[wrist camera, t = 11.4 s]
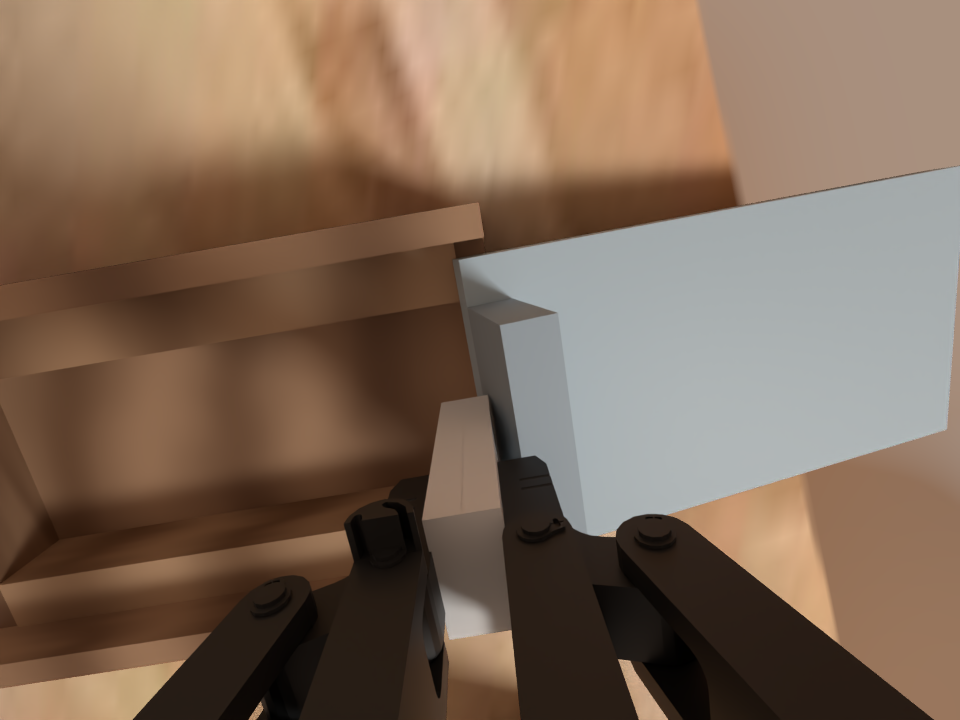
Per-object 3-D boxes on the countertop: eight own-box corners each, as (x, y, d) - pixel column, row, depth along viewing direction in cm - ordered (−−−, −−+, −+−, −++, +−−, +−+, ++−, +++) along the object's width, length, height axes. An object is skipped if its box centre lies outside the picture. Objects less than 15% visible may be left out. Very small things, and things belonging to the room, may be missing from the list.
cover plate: (931, 169, 20) (1118, 142, 15) (917, 420, 23) (1071, 467, 18) (452, 259, 16) (489, 262, 12) (504, 543, 19) (552, 644, 14)
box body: (476, 210, 20) (478, 202, 14) (525, 512, 24) (543, 604, 18) (-44, 301, 21) (-247, 327, 15) (79, 583, 24) (-46, 695, 18)
